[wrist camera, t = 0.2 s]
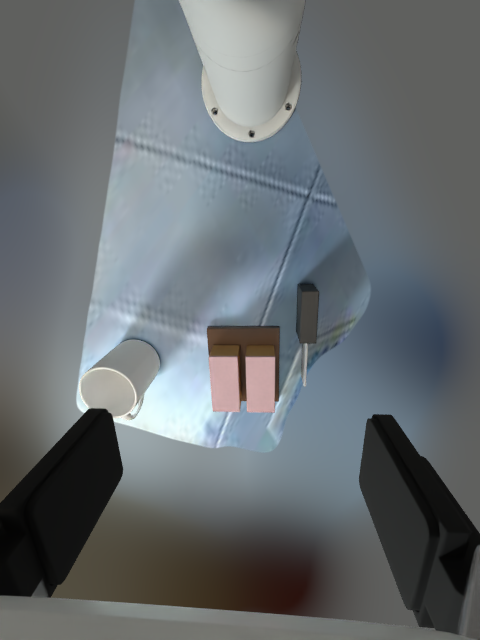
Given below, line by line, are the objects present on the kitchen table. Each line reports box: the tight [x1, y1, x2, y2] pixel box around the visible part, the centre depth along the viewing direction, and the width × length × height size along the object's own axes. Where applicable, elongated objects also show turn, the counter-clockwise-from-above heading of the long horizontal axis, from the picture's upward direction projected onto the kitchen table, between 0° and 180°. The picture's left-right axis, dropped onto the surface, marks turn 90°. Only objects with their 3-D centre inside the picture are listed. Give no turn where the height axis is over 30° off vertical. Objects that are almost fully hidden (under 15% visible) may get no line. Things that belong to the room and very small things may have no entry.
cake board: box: [207, 326, 280, 401], centre depth 49 cm, size 14×12×1 cm
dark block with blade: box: [296, 284, 319, 386], centre depth 45 cm, size 16×2×5 cm, turn 2°
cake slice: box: [246, 345, 275, 412], centre depth 47 cm, size 10×4×4 cm, turn 2°
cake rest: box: [209, 345, 242, 412], centre depth 47 cm, size 10×4×4 cm, turn 2°
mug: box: [79, 340, 160, 420], centre depth 47 cm, size 9×12×11 cm
